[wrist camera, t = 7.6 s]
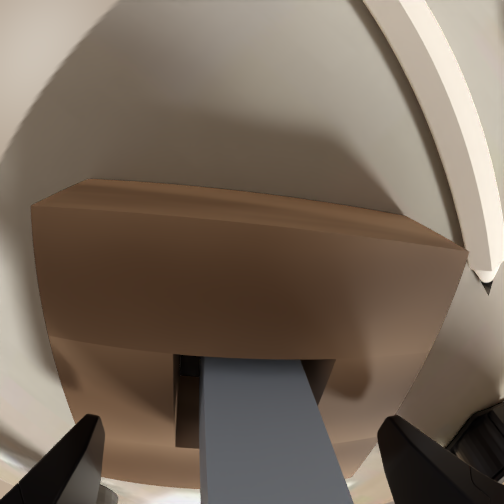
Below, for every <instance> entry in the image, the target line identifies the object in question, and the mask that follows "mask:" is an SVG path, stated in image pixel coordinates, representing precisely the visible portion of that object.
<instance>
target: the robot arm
mask: <svg viewBox="0 0 504 504" xmlns="http://www.w3.org/2000/svg"><path fill="white" fill-rule="evenodd" d="M377 439H378V444H379V448H380V453H381V458H382V462H383V467H384V471H385V475H386V478H387V481H388V484H389V487H390V490H391V493H392V496H393V499H394V502H395V504H504V485H503V484H502V483H503V482H504V402H503V403H500V404H498V405H495V406H493V407H491V408H488V409H486V410H483V411H480V412H478V413H475V414H474V415H473V416H472V417H471V418H470V419H469V420H468V422H467V423H466V424H465V426H464V427H463V428H462V430H461V431H460V432H459V434H458V435H457V436H456V437H455V439H454V440H453V441H452V442H451V444H450V445H449V446H448V447H447V448H446V449H445V448H444V447H442V446H441V445H439V444H438V443H436V442H435V441H434V440H432V439H431V438H429V437H428V436H427V435H425V434H424V433H422V432H421V431H420V430H418V429H417V428H415V427H414V426H413V425H411V424H410V423H408V422H407V421H406V420H404V419H403V418H401V417H400V416H398V415H394V416H388V417H387V418H386V419H385V420H384V422H383V423H382V425H381V426H380V428H379V430H378V432H377ZM104 443H105V430H104V427H103V424H102V420H101V418H100V416H98V415H93V414H86V415H85V416H84V417H83V418H82V419H81V420H80V421H79V422H78V423H77V424H76V425H75V426H74V427H73V428H72V429H71V430H70V431H69V432H68V433H67V434H66V435H65V436H64V437H63V438H62V439H61V440H60V441H59V442H58V443H57V444H56V445H55V446H54V447H53V448H52V449H51V450H50V451H49V452H48V453H47V454H46V455H45V456H44V457H43V458H42V459H41V460H40V461H39V462H38V463H37V464H36V465H35V466H34V467H33V468H32V469H31V470H30V471H29V472H28V473H27V474H26V475H25V476H24V477H23V478H22V479H21V480H20V481H19V484H18V483H17V484H16V485H15V486H14V487H13V488H12V489H11V490H10V491H9V492H8V493H7V494H6V495H5V496H4V497H3V498H2V499H0V504H96V500H97V495H98V491H99V486H100V481H101V472H102V462H103V452H104Z"/></svg>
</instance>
